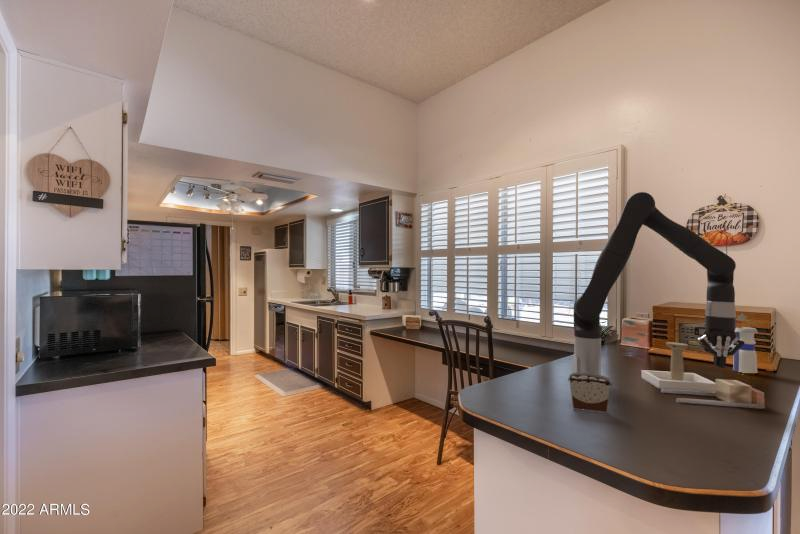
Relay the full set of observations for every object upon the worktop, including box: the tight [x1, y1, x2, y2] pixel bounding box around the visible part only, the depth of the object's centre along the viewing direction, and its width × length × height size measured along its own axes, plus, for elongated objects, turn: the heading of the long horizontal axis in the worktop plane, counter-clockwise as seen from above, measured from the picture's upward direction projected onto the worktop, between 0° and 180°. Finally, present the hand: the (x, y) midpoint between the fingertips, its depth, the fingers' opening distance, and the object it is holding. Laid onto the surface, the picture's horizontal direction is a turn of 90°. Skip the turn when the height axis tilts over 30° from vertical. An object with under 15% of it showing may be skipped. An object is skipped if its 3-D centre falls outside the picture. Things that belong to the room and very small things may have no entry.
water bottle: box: [732, 313, 759, 373], centre depth 154 cm, size 8×9×25 cm
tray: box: [641, 369, 716, 392], centre depth 135 cm, size 18×14×3 cm
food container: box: [567, 372, 614, 413], centre depth 112 cm, size 12×6×10 cm, turn 71°
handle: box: [666, 341, 689, 381], centre depth 136 cm, size 5×6×15 cm
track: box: [660, 387, 766, 410], centre depth 119 cm, size 24×11×5 cm, turn 78°
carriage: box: [715, 378, 753, 403], centre depth 118 cm, size 6×7×6 cm
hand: (719, 367), depth 119 cm, fingers closed
